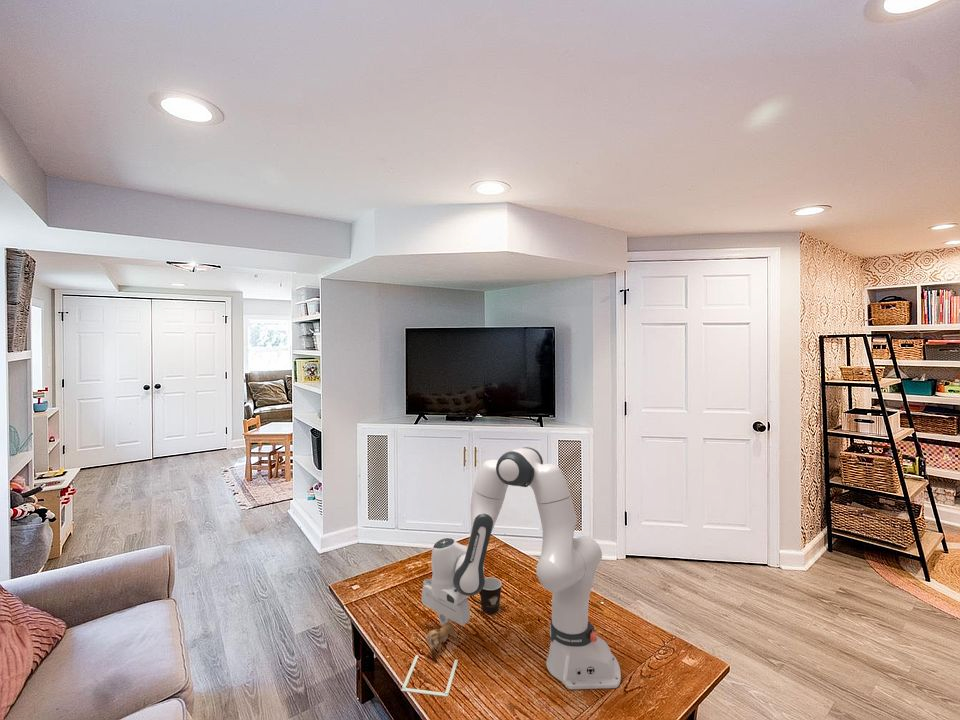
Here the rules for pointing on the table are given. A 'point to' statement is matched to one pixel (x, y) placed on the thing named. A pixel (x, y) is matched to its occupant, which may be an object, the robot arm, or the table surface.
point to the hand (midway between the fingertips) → (444, 625)
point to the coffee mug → (490, 595)
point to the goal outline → (425, 690)
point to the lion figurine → (440, 636)
